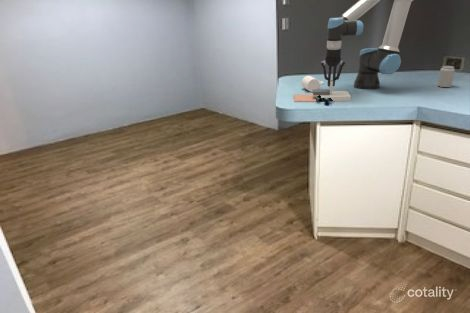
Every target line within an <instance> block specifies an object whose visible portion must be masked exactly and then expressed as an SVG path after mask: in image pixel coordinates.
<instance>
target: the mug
mask: <svg viewBox="0 0 470 313" xmlns="http://www.w3.org/2000/svg"><path fill="white" fill-rule="evenodd" d="M324 84H325V83H324V81H322V80H321V81H320V80H318V79H317V78H315V77H314V76H311V75H305V76H304V77H303V78H302V80H301V85H302V88H304V89H305V90H307V91H309V92H310V93H312V91H313V89H320V87H321V86H323V85H324Z"/></svg>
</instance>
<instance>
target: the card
mask: <svg viewBox="0 0 470 313" xmlns="http://www.w3.org/2000/svg"><path fill="white" fill-rule="evenodd" d="M311 94H312V95H313V96H314V95H318V96H319V95H330V91H329V88H319V89H313V91H312V92H311Z"/></svg>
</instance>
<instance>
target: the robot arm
mask: <svg viewBox="0 0 470 313" xmlns="http://www.w3.org/2000/svg"><path fill="white" fill-rule="evenodd" d="M380 1H381V0H357V2H356V3H354V4H352V6H351V7H349V8H348V9H347V10H345V12H344V13H342V14H341V15H340V16H339V17H330V18H329V19H328V21H327V22H328V23H327V36H326V38H327V39H326V51H325V59H324V60H322V61H321V62H320V65H321V66H322V72H323V77H324V79H325V81H326V80H327V87H328V89H329V91H330V93H332V91H334V90H333V89H334V87H336V86H335V84H336V81H338V80H339V79H340V76H341V73H342V70H343V67H344V65H346V62H345V61H343V60H342V58H341V55H342V54H341V53H342V49H341V48H342V39H343V37H351V36H352V37H353V36H354V37H355V36H360V35H361V34H362V33H363V31H364V23H363V21H361V20H358V19H359V18H361V17H363V15H365V13H367V12H368V11H369V10H371V9H372V8H373V7H374V6H375V5H377V4H378V3H379V2H380ZM413 1H414V0H394V1H393V4H392V7H391V11H390V15H389V18H388V22H387V24H386V29H385V32H384V35H383V36H384V37H383V40H382V44H381V45H380V46H379V47H369V48H363V49H361V50H360V51H359V56H358V57H359V58H358V70H357V75H356V78H355V80H354V81H353V82H354V83H353V87H354V88H357V89H361V90H376V89H378V88H380V84H381V82H380V77H379V73H380V74H382V75H392V74H394V73H395V72H396V71H398V70H399V68H400V66H401V63H402V59H401V56H400V55H399V54H400V49H399V45H400V41H401V38H402V34H403V31H404V28H405V24H406V20H407V17H408V13H409V10H410V7H411V4H412V2H413ZM326 65H327V66H328V68H327V69H328V71H327V69H326ZM338 65H339V66H338ZM337 66H338V71H337ZM332 67H333V69H332ZM327 72H328V73H327ZM331 78H332V79H331Z"/></svg>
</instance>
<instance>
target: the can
mask: <svg viewBox="0 0 470 313" xmlns="http://www.w3.org/2000/svg"><path fill="white" fill-rule="evenodd" d="M455 71H456V69H455V67H454V66H452V65H443V66H441V68H440V70H439V74H438V80H437V86H438V87H439V86H440V87H439V88H442V87H449V88H451V87H452V86H453V81H454V76H455Z"/></svg>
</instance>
